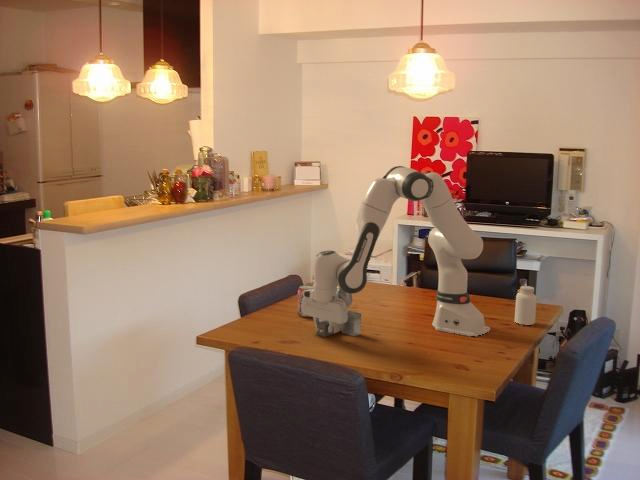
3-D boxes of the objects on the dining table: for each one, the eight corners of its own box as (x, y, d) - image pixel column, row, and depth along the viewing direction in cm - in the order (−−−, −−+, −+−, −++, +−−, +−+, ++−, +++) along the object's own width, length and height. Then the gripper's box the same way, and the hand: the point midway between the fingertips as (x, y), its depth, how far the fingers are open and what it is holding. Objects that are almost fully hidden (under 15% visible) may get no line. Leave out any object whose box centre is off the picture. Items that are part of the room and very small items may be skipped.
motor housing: (324, 324, 283) (325, 282, 280) (360, 334, 271) (362, 290, 268) (318, 326, 280) (318, 283, 277) (353, 336, 268) (355, 291, 265)
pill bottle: (538, 323, 290) (541, 287, 287) (528, 327, 284) (531, 290, 282) (520, 319, 295) (522, 284, 293) (510, 323, 289) (513, 287, 287)
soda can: (312, 318, 291) (313, 289, 289) (295, 317, 292) (295, 288, 290) (316, 313, 297) (316, 285, 295) (299, 312, 299) (299, 284, 297)
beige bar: (347, 325, 282) (347, 313, 281) (355, 327, 279) (355, 315, 279) (314, 335, 268) (314, 323, 267) (322, 337, 265) (322, 325, 265)
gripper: (351, 298, 262) (350, 334, 264) (310, 288, 275) (309, 323, 277) (340, 301, 257) (339, 338, 259) (299, 291, 271) (298, 326, 273)
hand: (323, 330), depth 269 cm, fingers closed on beige bar, 4 cm apart
